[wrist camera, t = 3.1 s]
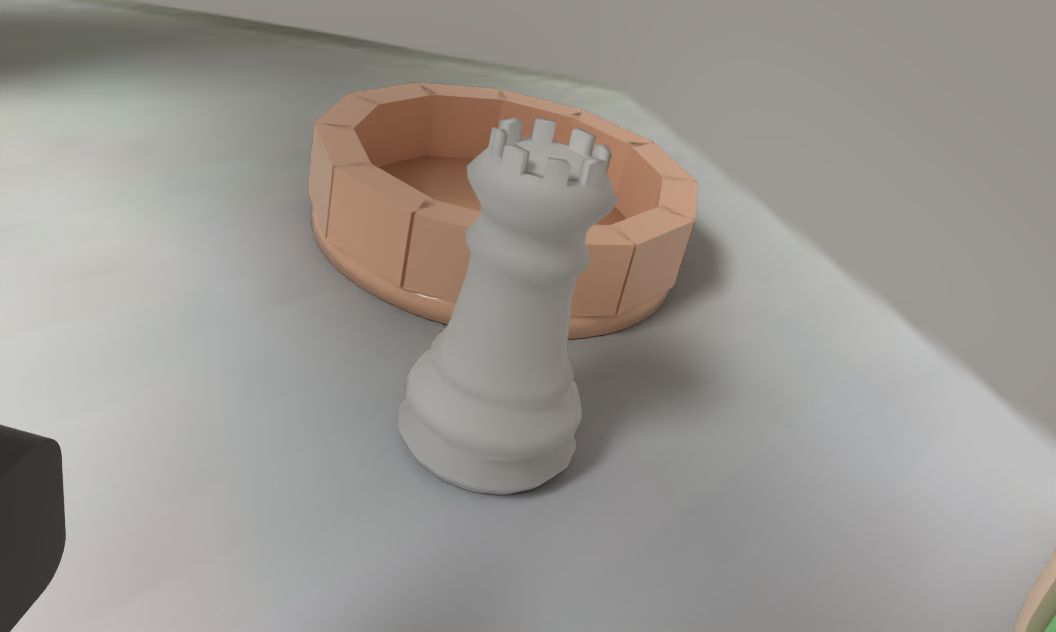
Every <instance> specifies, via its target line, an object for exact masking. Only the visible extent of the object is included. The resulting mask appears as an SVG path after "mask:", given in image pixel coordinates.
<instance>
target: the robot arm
mask: <svg viewBox="0 0 1056 632" xmlns="http://www.w3.org/2000/svg"><path fill="white" fill-rule="evenodd" d="M65 539H66V532H65V512H64V493H63V474H62V455H61V449H60V446H59V444H58V443H57V442H56V441H55V440H53V439H50V438H47V437H43V436H39V435H36V434H32V433H29V432H25V431H21V430H18V429H14V428H10V427H7V426H3V425H0V632H10V631H11V630H12V629H13V627H14V626H15V625H16V624H17V623H18V621H19V620H20V619H21V618H22V617H23V615H24V614H25V613H26V612H27V611H28V609H29V608H30V607H31V606H32V605H33V603H34V602H35V601H36V600H37V599H38V598H39V596H40V595H41V594H42V593H43V591H44V590H45V589H46V588H47V586H48V585H49V583H50V582H51V580H52V578H53V576H54V574H55V572H56V570H57V568H58V566H59V563H60V561H61V558H62V554H63V551H64V546H65Z"/></svg>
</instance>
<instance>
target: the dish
mask: <svg viewBox="0 0 1056 632" xmlns="http://www.w3.org/2000/svg"><path fill="white" fill-rule="evenodd" d="M513 117H515V118H517V119H519V120H520V121H522V122H523V125H522V130H521V135H520V137H531V132H532V128H533V123H534V118H542V119H548V120H554V121H557V122H556V127H555V131H554V136H553V140H552V141H555V142H559V143H562V144H565V145H569V143H570V139H571V134H572V130H574V129H576V128H581V129H583V130H585V131H587V132H589V133H591V134H593V135H595V136H596V138H595V142H594V146H593V150H592V154H591V156H593V152H594V148H595V144H599V145H608V147H609V149H610V151H611V154H612V155H611V159H610V163H609V167H608V171H607V175H608V178H609V180H610V182H611V184H612V186H613V189H614V191H615V194H616V196H617V199H618V202H617V204H616V205H615V207H614V208H613V210H612V211H611V212H610V213H609V214H608V215H606V216H605V217H604V218H602V219H601V220H600V221H598V222H597V223H596V224H594V225H593V226H592V227H591V228H589V229H588V232H587V234H586V241H585V244H586V246H587V248H588V250H589V254H590V257H591V262H590V264H589V265H588V267H587V269H586V270H585V271H584V272H582V273H581V274H579V275H578V277H577V281H576V285H575V289H574V293H573V296H572V304H571V314H570V324H569V334H568V339H575V338H586V337H592V336H598V335H604V334H608V333H612V332H615V331H619V330H623V329H625V328H628V327H630V326H632V325H635V324H637V323H639V322H641V321H643V320H644V319H646V318H647V317H649V316H650V315H652V314H653V313H654V312H655V311H656V310H657V309H658V308H659V307H660V306H661V305H662V304H663V302H664V300H665V299H666V297H667V295H668V292H669V289H671V288H673V287H674V286H675V283H676V279H677V276H678V273H679V270H680V267H681V264H682V261H683V257H684V254H685V251H686V248H687V245H688V242H689V238H690V235H691V232H692V229H693V226H694V223H695V219H696V202H697V184H698V183H697V181H696V180H695V179H694V178H693V177H692V176H691V175H689V174H688V173H687V172H686V171H685V170H684V169H683V168H682V167H681V166H680V165H679V164H678V163H676V162H675V161H674V160H673V159H672V158H671V157H670V156H669V155H668V154H667V153H666V152H665V151H663V150H662V149H661V148H660V147H659V146H658V145H657V144H656V143H654V142H652V141H650V140H648V139H646V138H644V137H642V136H639V135H637V134H635V133H633V132H631V131H629V130H626V129H624V128H622V127H620V126H618V125H616V124H613V123H611V122H609V121H607V120H605V119H603V118H600V117H598V116H596V115H594V114H592V113H590V112H587V111H583V110H582V109H578V108H574V107H570V106H566V105H562V104H558V103H554V102H550V101H546V100H542V99H539V98H535V97H531V96H527V95H523V94H519V93H515V92H511V91H507V90H503V89H502V90H501V91H500V89H496V88H483V87H471V86H458V85H445V84H433V83H420V82H418V83H416V82H415V83H409V84H402V85H396V86H390V87H383V88H377V89H371V90H364V91H358V92H352V93H350V94H347V95H345V96H344V97H343V98H342V99H341V100H340V101H338V102H337V103H336V104H335V105H334V106H332V107H331V108H330V109H329V110H328V111H327V112H325V113H324V114H323V115H322V116H321V117H320V118H318V119H317V120H316V121H315V123H314V131H313V142H312V153H311V163H310V174H309V185H308V194H309V196H310V199H311V202H312V204H313V211H312V223H311V225H312V230H313V235H314V238H315V240H316V242H317V244H318V246H319V248H320V250H321V251H322V252H323V254H324V255H325V256H326V257H327V259H328V260H329V261H330V262H331V263H332V264H333V265H334V266H335V267H336V268H337V269H338V270H339V271H340V272H341V273H342V274H343V275H345V276H346V277H347V278H349V279H350V280H351V281H353V282H354V283H355V284H357V285H358V286H359V287H361V288H363V289H365V290H366V291H368V292H370V293H371V294H373V295H375V296H376V297H378V298H380V299H382V300H384V301H386V302H388V303H390V304H392V305H394V306H397V307H399V308H401V309H403V310H406V311H408V312H411V313H414V314H416V315H419V316H421V317H424V318H427V319H430V320H433V321H436V322H440V323H443V324H446V325H448V323H449V321H450V319H451V317H452V314H453V311H454V308H455V305H456V303H457V300H458V297H459V294H460V291H461V288H462V286H463V283H464V280H465V277H466V274H467V270H468V264H469V259H470V254H471V251H470V249H469V247H468V245H467V244H466V235H465V231H466V230H467V229H468V228H469V227H470V226H471V225H472V224H473V223H474V222H475V221H476V220H478V218H479V215H480V212H481V203H480V201H479V199H478V198H477V196H476V194H475V192H474V190H473V188H472V186H471V184H470V182H469V180H468V177H467V165H468V164H469V163H470V162H472V161H473V160H474V159H475V158H476V157H477V156H478V155H479V154H481V153H482V152H483V151H484V150H485V149H487V148H488V147H489V142H490V136H491V131H492V127H495V128H498V127H499V122H500V120H504V119H509V118H513Z"/></svg>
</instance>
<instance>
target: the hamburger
mask: <svg viewBox="0 0 1056 632" xmlns="http://www.w3.org/2000/svg"><path fill="white" fill-rule="evenodd" d="M1013 632H1056V549H1055V551H1054V553H1053V554H1052V556H1051V558H1050V559H1049V561H1048V563H1047V564H1046V566H1045V567H1044V569H1043V571H1042V572H1041V574H1040V576H1039V577H1038V579H1037V581H1036V582H1035V584H1034V585H1033V587H1032V589H1031V590H1030V592H1029V594H1028V595H1027V597H1026V600H1025V602H1024V605H1023V607H1022V610H1021V612H1020V615H1019V617H1018V620H1017V622H1016V625H1015V627H1014V630H1013Z"/></svg>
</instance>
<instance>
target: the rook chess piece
mask: <svg viewBox="0 0 1056 632" xmlns="http://www.w3.org/2000/svg"><path fill="white" fill-rule="evenodd" d="M556 122H557V121H554V120H548V119H542V118H534V123H533V128H532V132H531V137H520V135H521V130H522V125H523V122H522V121H520V120H519V119H517V118H515V117H513V118H509V119H504V120H500V122H499V127H498V128H495V127H492V131H491V136H490V142H489V147H488V148H487V149H485V150H484V151H483V152H482V153H481V154H479V155H478V156H477V157H476V158H475V159H474V160H473V161H472V162H470V163H469V164H468V165H467V177H468V180H469V182H470V184H471V186H472V188H473V190H474V192H475V194H476V196H477V198H478V199H479V201H480V203H481V212H480V215H479V218H478V220H476V221H475V222H474V223H473V224H472V225H471V226H470V227H469V228H468V229H467V230H466V231H465V235H466V244H467V245H468V247H469V249H470V251H471V254H470V259H469V264H468V270H467V274H466V277H465V280H464V283H463V286H462V288H461V291H460V294H459V297H458V300H457V303H456V305H455V308H454V311H453V314H452V317H451V319H450V321H449V323H448V325H447V327H446V329H444V330H442V331H441V332H440V333H439V334H438V335H437V337H436V338H435V339H434V340H433V342H432V343H431V348H429V349H427V350H425V351H424V353H423V354H422V355H421V356H420V358H419V359H418V360H417V361H416V363H415V364H414V365H413V366H412V368H411V370H410V372H409V374H408V376H407V378H406V398H405V399H404V400H403V402H402V403H401V404H400V405H399V407H398V430H399V432H400V434H401V435H402V437H403V439H404V440H405V442H406V444H407V446H408V447H409V449H410V451H411V452H412V454H413V455H414V456H415V458H416V459H417V460H418V462H419V463H420V464H421V465H422V466H423V467H425V468H426V469H427V470H429V471H430V472H431V473H433V474H434V475H435V476H437V477H438V478H439V479H441V480H442V481H443V482H446V483H449V484H452V485H454V486H457V487H460V488H462V489H465V490H468V491H471V492H475V493H486V494H498V495H507V494H512V493H517V492H522V491H527V490H532V489H534V488H536V487H537V486H539V485H541V484H543V483H545V482H546V481H548V480H549V479H551V478H552V477H554V476H555V475H557V474H558V473H560V472H561V471H563V470H564V469H566V468H567V467H568V466H569V463H570V461H571V459H572V457H573V454H574V452H575V450H576V448H577V445H576V441H575V436H574V434H575V432H576V430H577V428H578V426H579V424H580V421H581V419H582V407H581V400H580V396H579V392H578V387H577V384H576V383H575V381H574V380H573V379H574V377H575V376H574V372H573V367H572V363H571V360H570V359H569V357H568V352H567V343H568V334H569V324H570V314H571V304H572V296H573V293H574V289H575V285H576V281H577V277H578V275H579V274H581V273H582V272H584V271H585V270H586V269H587V267H588V265H589V264H590V262H591V257H590V254H589V250H588V248H587V246H586V244H585V241H586V234H587V232H588V229H589V228H591V227H592V226H593V225H594V224H596V223H597V222H598V221H600V220H601V219H602V218H604V217H605V216H606V215H608V214H609V213H610V212H611V211H612V210H613V208H614V207H615V205H616V204H617V202H618V199H617V196H616V194H615V191H614V189H613V186H612V184H611V182H610V180H609V178H608V175H607V171H608V167H609V163H610V159H611V155H612V154H611V151H610V149H609V147H608V145H599V144H595V148H594V152H593V156H591V154H592V150H593V146H594V142H595V138H596V136H595V135H593V134H591V133H589V132H587V131H585V130H583V129H581V128H576V129H574V130H572V134H571V139H570V143H569V145H565V144H562V143H559V142H555V141H552V140H553V136H554V131H555V127H556Z"/></svg>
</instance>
